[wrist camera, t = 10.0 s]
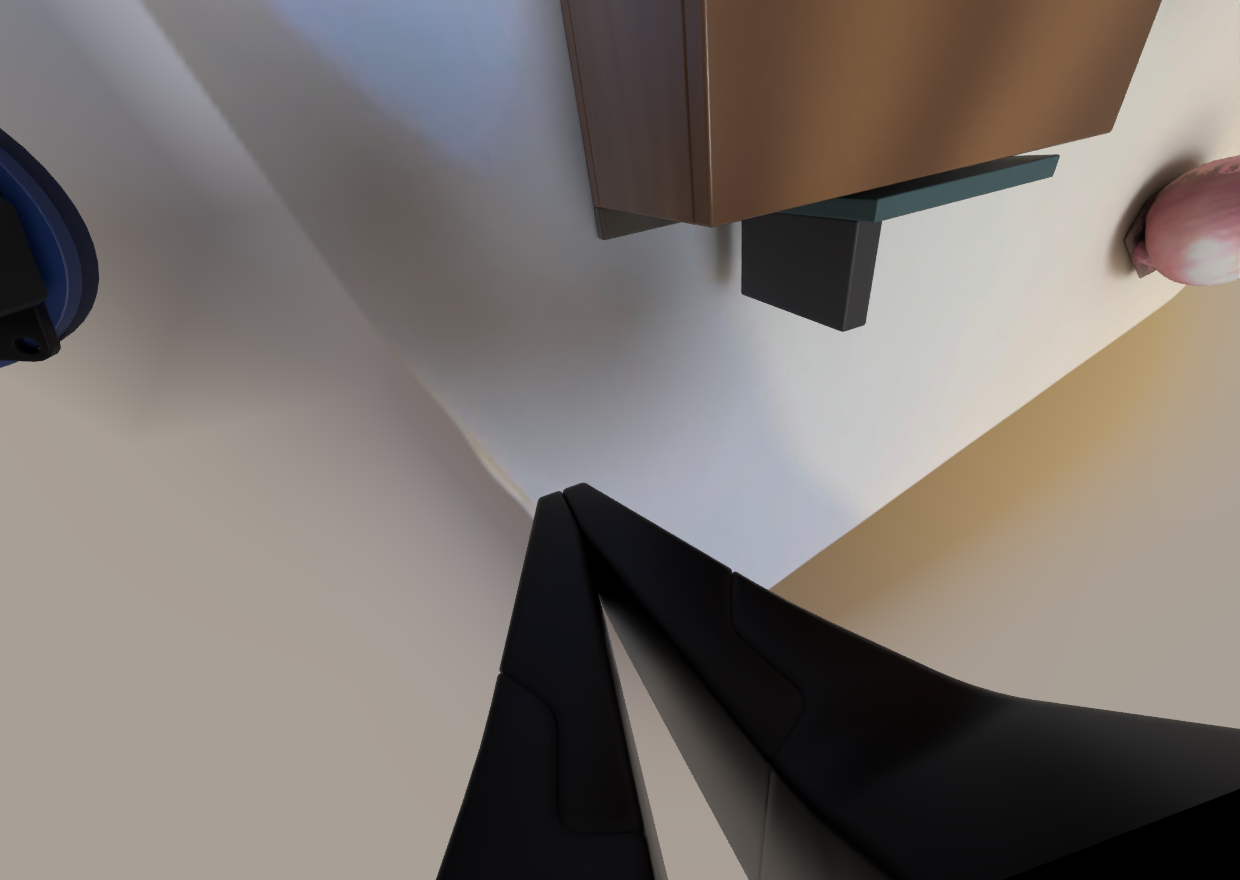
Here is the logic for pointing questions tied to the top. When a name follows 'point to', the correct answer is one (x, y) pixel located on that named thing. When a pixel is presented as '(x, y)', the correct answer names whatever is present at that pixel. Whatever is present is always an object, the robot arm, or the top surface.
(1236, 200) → the onion
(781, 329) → the top surface
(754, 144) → the cupboard
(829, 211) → the sliding door
